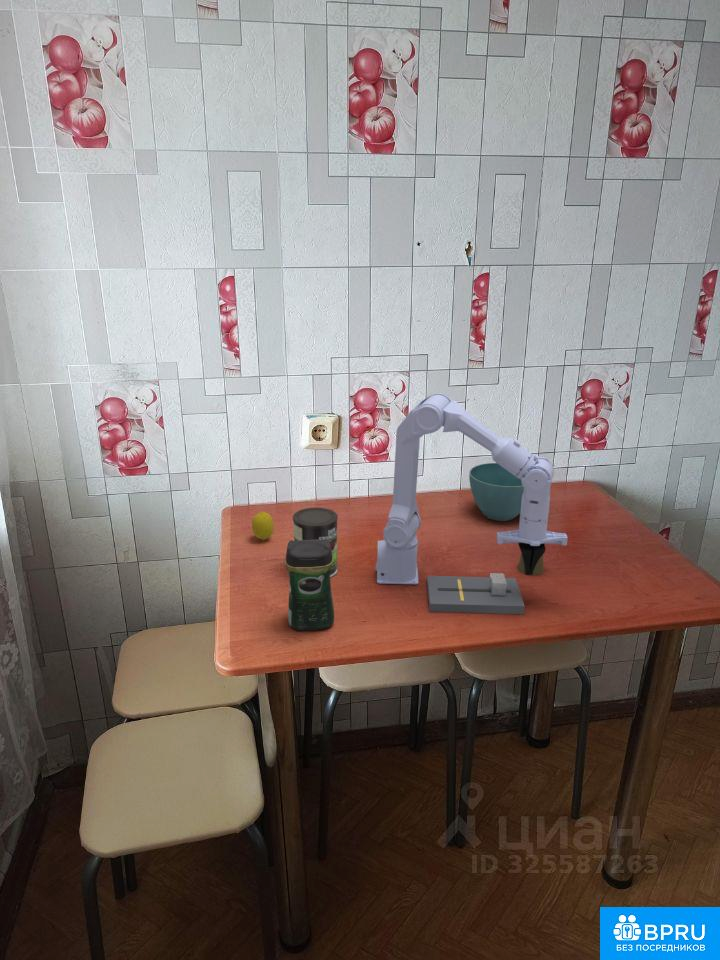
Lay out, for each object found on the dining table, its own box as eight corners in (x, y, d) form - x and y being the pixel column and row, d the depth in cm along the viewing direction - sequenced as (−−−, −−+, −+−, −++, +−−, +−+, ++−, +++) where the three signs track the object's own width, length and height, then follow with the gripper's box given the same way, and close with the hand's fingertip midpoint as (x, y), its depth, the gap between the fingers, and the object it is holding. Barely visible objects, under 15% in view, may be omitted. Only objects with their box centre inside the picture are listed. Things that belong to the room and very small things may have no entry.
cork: (525, 577, 168) (529, 534, 164) (513, 564, 174) (517, 523, 170) (548, 573, 170) (553, 531, 166) (535, 561, 175) (540, 520, 171)
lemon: (248, 543, 184) (247, 514, 181) (258, 533, 189) (257, 505, 186) (268, 546, 182) (267, 517, 179) (277, 537, 187) (276, 508, 184)
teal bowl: (472, 498, 211) (475, 459, 207) (536, 506, 206) (540, 466, 202) (461, 523, 195) (463, 481, 191) (529, 533, 190) (534, 490, 186)
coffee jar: (332, 610, 154) (332, 532, 148) (335, 631, 147) (334, 550, 140) (287, 612, 154) (284, 533, 147) (287, 633, 146) (284, 552, 139)
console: (429, 611, 154) (430, 603, 153) (427, 583, 165) (427, 575, 165) (523, 614, 154) (524, 605, 153) (514, 585, 165) (515, 577, 164)
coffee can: (346, 568, 172) (346, 514, 167) (318, 585, 164) (317, 529, 159) (313, 555, 178) (312, 503, 172) (285, 571, 170) (283, 517, 165)
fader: (491, 595, 156) (492, 583, 155) (489, 585, 161) (490, 573, 159) (505, 595, 156) (506, 583, 155) (502, 585, 160) (503, 573, 159)
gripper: (502, 523, 148) (497, 581, 153) (573, 524, 148) (566, 582, 153) (497, 509, 155) (492, 565, 160) (565, 510, 154) (558, 566, 159)
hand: (528, 572), depth 157 cm, fingers closed
